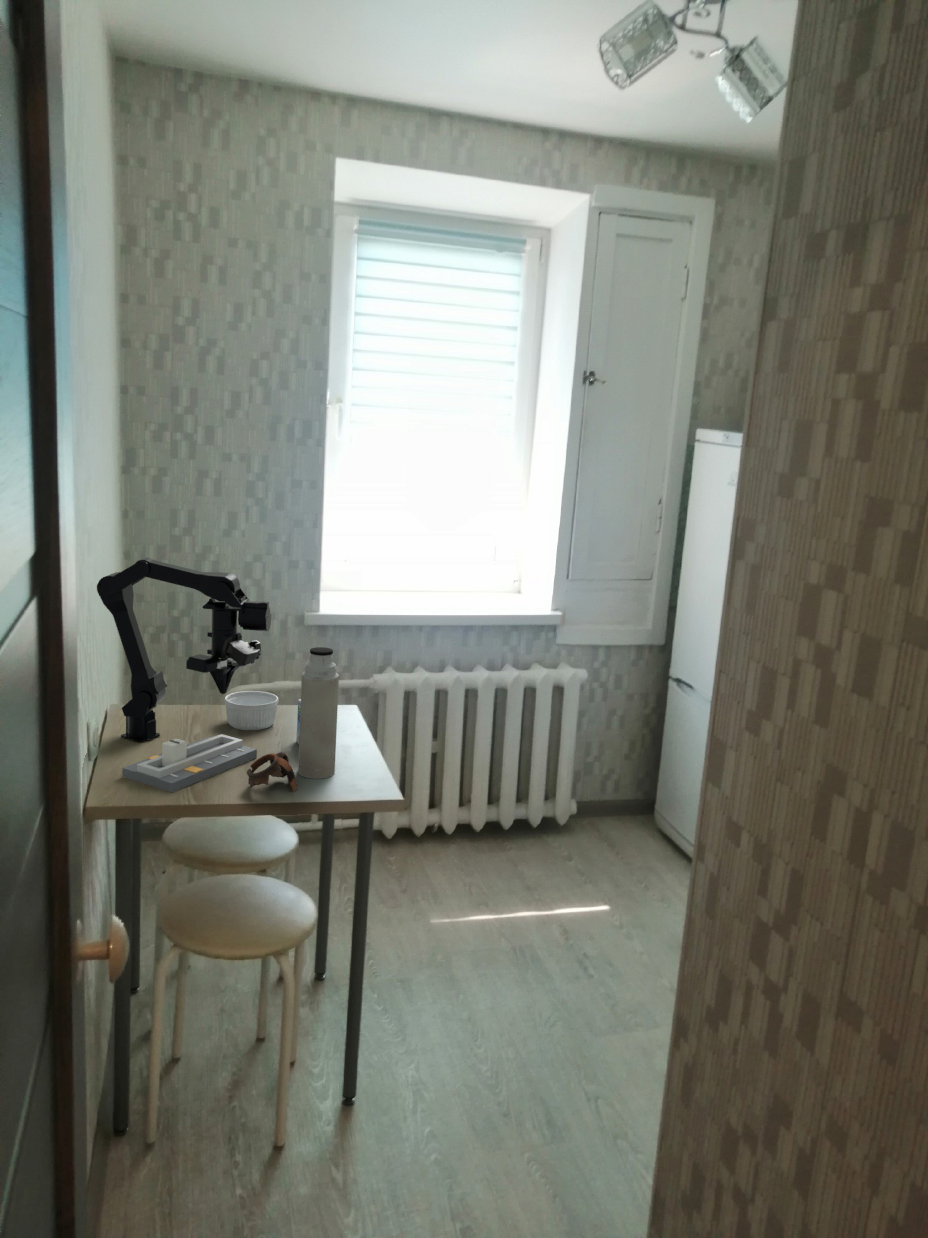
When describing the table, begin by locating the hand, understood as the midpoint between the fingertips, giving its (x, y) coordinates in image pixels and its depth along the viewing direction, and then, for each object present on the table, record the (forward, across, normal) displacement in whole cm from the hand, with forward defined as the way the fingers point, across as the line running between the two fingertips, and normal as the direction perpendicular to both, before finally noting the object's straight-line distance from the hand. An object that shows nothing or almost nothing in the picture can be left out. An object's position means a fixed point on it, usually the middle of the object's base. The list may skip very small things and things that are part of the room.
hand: (223, 693), depth 215 cm
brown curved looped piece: (+12, -14, -27) cm, 33 cm away
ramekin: (+12, +15, +4) cm, 20 cm away
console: (+12, -16, -6) cm, 21 cm away
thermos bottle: (+12, -2, -29) cm, 32 cm away
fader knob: (+10, -21, -6) cm, 24 cm away
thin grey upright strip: (+12, +11, -19) cm, 25 cm away
